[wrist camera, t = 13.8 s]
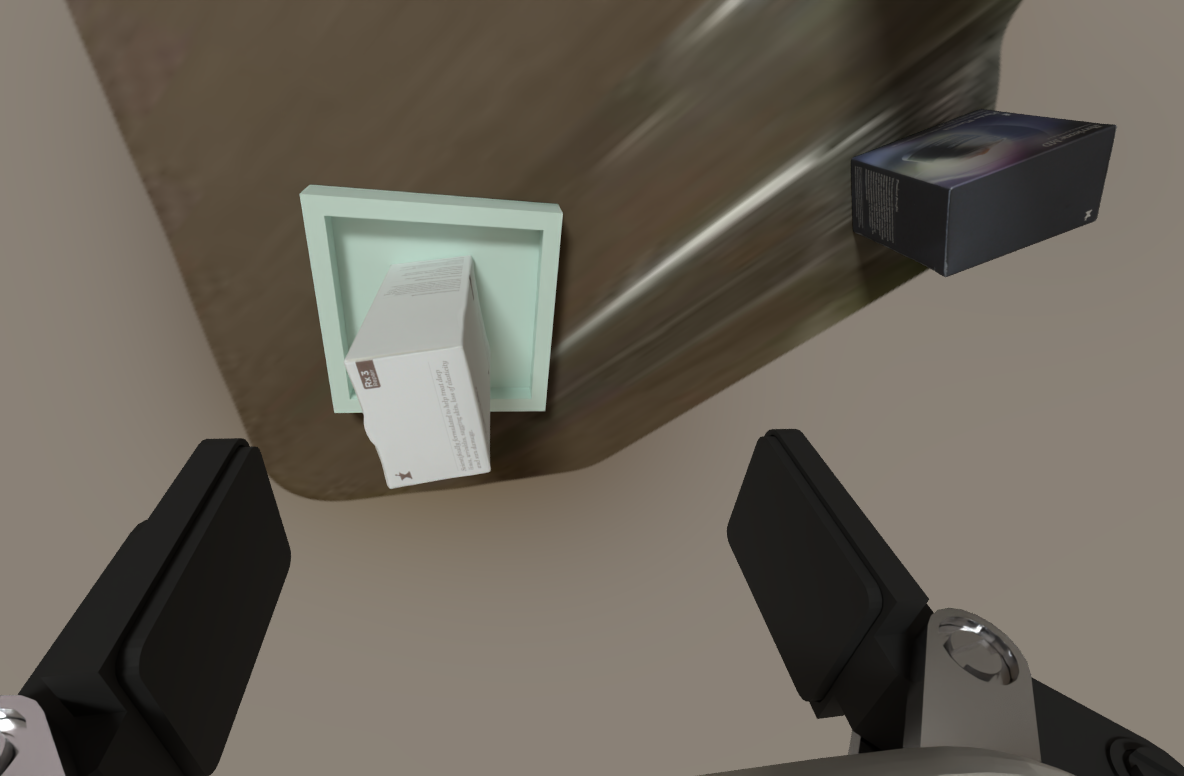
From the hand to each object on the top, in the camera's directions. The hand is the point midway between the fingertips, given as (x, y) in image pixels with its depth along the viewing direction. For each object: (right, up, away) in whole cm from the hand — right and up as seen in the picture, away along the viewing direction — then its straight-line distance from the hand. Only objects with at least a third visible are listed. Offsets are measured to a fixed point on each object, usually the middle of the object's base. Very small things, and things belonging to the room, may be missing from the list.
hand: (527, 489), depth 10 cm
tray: (-10, +8, +30) cm, 32 cm away
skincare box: (-10, +8, +29) cm, 32 cm away
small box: (+26, +19, +31) cm, 45 cm away
